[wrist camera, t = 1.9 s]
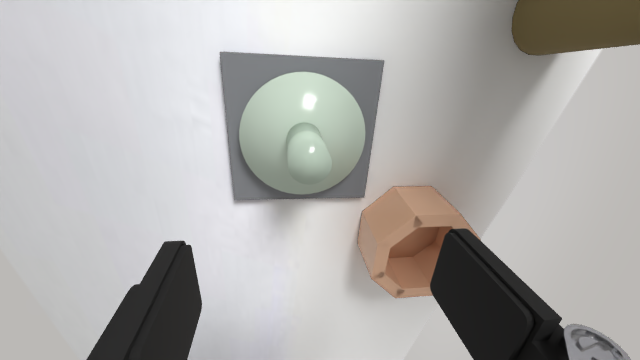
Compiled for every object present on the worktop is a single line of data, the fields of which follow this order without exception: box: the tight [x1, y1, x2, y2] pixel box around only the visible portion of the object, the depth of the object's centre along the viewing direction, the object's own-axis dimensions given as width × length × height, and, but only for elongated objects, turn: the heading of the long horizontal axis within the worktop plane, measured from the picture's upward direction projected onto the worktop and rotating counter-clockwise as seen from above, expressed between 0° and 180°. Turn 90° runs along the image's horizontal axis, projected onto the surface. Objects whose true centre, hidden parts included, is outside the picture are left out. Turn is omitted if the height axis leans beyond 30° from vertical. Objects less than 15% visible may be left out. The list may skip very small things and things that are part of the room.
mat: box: [220, 52, 384, 200], centre depth 23 cm, size 12×12×1 cm
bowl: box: [358, 186, 481, 298], centre depth 27 cm, size 10×10×5 cm
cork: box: [512, 0, 640, 55], centre depth 17 cm, size 6×6×11 cm
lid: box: [239, 71, 365, 194], centre depth 20 cm, size 10×10×6 cm
